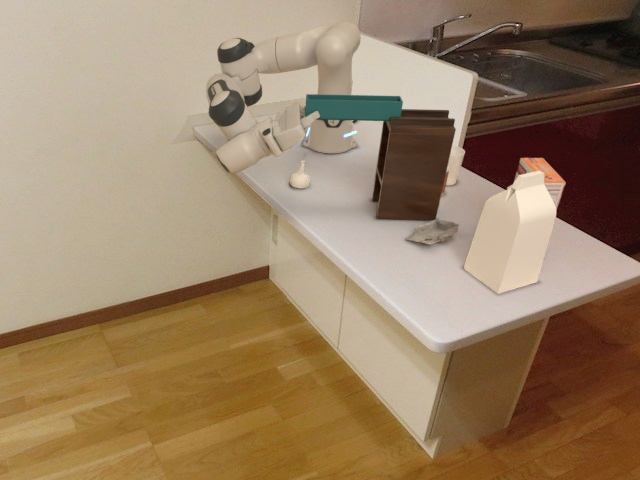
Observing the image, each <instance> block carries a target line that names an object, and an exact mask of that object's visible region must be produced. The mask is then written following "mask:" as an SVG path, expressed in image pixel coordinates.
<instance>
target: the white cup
mask: <svg viewBox="0 0 640 480" xmlns="http://www.w3.org/2000/svg"><path fill="white" fill-rule="evenodd" d="M465 154H466V150H465V149H464V148H462V147H460V146H456V145H452V148H451V153H450V157H449V162H448V165H449V173H448V178H447V182H446V186H454V185H456V183H457V181H458V180H457V179H458V176H459V174H460V172H461V167H462V164H463V161H464V157H465Z"/></svg>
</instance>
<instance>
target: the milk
mask: <svg viewBox="0 0 640 480" xmlns="http://www.w3.org/2000/svg"><path fill="white" fill-rule="evenodd" d="M514 180H515V179H514ZM556 218H557V210H556V207H555V204H554V202H553V200H552V198H551V196H550V194H549V192H548V190H547V188H546V187H545V185H544V173H543V172H541V171H535V172H531V173H527V174H522V175H519V176H518V177H517V179H516V180H515V182H514V181H513V183H512V184H511V185H509V186H507V187H506V189H505V190H502V191H500V192H499V193H496V194H494V195H493V196H490V197H488V199H487V200H486V201H485V203H484V205H483V208H482V211H481V214H480V217H479V220H478V223H477V227H476V229H475V232H474V236H473V239H472V242H471V244H470V248H469V250H468V254H467V257H466V259H465V263H464V265H463V270H464V271H466V272H467V273H469V274H470V275H471V276H472V277H474V278H475V279H477V281H479V282H481V283H482V284H483V285H485V286H486V287H488V288H489V289H490V290H492V291H493V292H494V293H495V294H496V295H499V294H503V293H506V292H509V291H513V290H515V289H520V288H522V287H526V286H529V285H532V284H536V283H538V282H539V277H540V275H541V270H542V266H543V264H544V260H545V256H546V254H547V253H546V252H547V249H548V246H549V242H550V238H551V235H552V232H553V228H554V224H555V222H556Z"/></svg>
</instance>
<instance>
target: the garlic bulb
mask: <svg viewBox="0 0 640 480" xmlns="http://www.w3.org/2000/svg"><path fill="white" fill-rule="evenodd" d="M305 162H306V160H301V161H300V164H299V167H298V169H297V171H295V172H293V173H292V174H291V175H290V177H289V184H290V186H291V187H293V188H295V189H300V190H301V189H306V188H309V186H310V185H311V179H310V176H309V175H308V173H306V172H305Z"/></svg>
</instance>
